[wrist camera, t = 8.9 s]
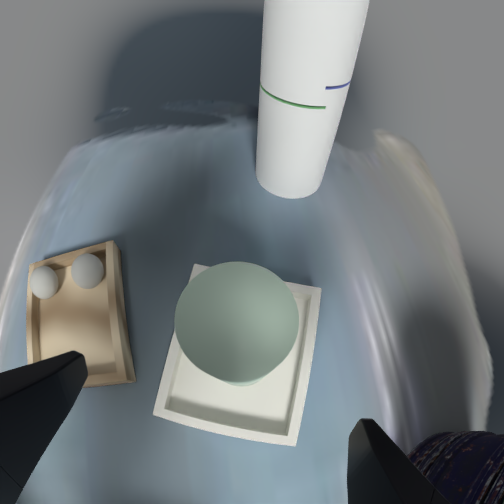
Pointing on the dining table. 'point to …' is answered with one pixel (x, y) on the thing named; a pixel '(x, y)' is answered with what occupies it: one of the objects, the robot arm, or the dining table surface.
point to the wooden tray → (83, 318)
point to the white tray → (244, 397)
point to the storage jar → (463, 466)
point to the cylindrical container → (303, 88)
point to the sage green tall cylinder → (236, 322)
